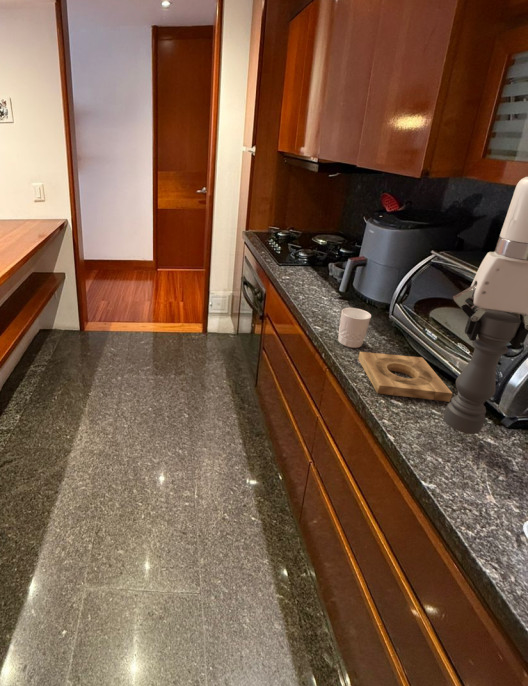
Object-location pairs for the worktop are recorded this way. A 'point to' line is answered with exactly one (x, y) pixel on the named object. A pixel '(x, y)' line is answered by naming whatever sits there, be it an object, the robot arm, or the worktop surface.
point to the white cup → (353, 327)
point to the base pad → (388, 383)
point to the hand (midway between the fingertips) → (491, 340)
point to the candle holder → (481, 372)
